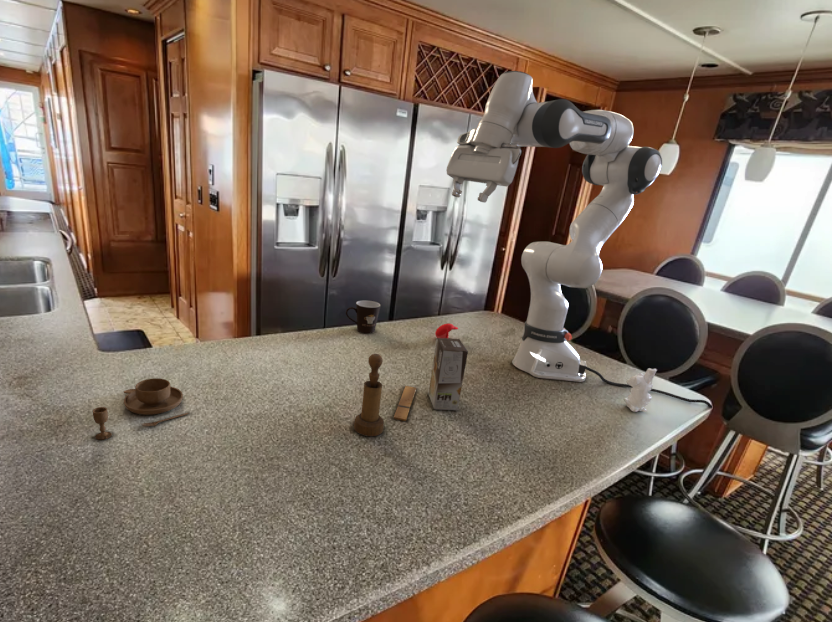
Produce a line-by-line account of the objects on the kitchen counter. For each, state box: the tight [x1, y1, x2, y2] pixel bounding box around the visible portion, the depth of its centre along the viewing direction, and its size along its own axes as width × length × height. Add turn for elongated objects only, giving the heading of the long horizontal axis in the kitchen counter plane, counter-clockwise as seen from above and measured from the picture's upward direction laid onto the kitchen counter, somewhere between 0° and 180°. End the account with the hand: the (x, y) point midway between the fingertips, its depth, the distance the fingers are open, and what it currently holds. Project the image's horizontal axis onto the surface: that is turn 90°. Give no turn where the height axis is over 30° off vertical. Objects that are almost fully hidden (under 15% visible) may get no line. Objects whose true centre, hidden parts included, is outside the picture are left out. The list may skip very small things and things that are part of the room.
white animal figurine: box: [623, 367, 658, 413], centre depth 124 cm, size 8×7×12 cm
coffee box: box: [428, 337, 469, 411], centre depth 115 cm, size 9×6×16 cm
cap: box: [434, 323, 459, 339], centre depth 163 cm, size 8×6×6 cm
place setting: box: [92, 377, 189, 441], centre depth 99 cm, size 18×20×6 cm
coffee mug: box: [345, 300, 381, 335], centre depth 163 cm, size 12×9×10 cm
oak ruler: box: [392, 385, 417, 422], centre depth 116 cm, size 3×18×1 cm, turn 168°
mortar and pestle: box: [353, 353, 385, 437], centre depth 99 cm, size 7×6×18 cm
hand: (467, 198), depth 113 cm, fingers open, 8 cm apart
